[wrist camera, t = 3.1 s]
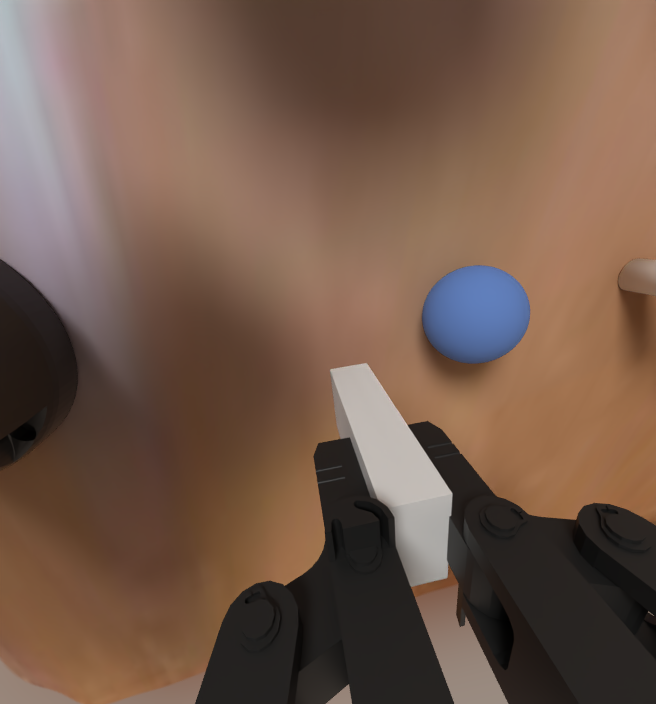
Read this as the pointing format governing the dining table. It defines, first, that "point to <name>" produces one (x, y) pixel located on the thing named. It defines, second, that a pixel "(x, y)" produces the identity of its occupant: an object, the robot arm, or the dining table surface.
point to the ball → (476, 314)
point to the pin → (639, 276)
